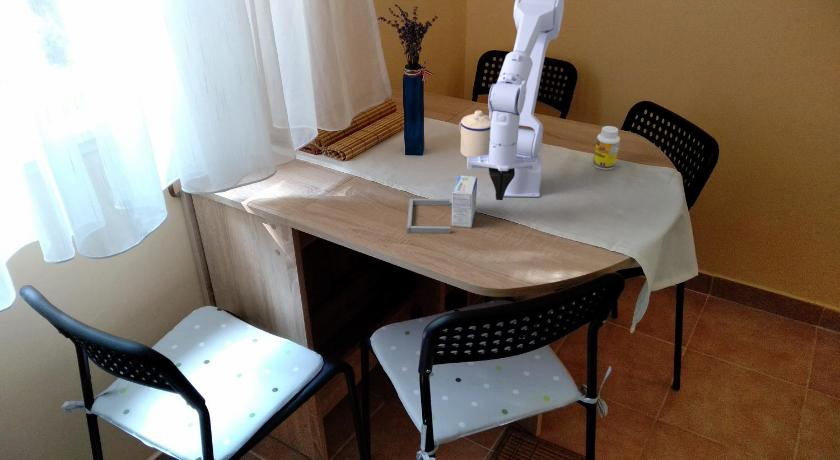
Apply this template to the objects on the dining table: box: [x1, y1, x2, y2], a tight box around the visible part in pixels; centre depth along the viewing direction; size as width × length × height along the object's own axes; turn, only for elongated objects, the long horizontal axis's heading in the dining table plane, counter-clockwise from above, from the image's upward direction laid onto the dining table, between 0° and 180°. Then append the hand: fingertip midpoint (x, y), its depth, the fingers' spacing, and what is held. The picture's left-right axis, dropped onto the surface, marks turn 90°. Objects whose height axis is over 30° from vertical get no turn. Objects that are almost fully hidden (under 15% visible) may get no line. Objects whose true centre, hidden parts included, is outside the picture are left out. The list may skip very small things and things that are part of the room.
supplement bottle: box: [592, 125, 621, 171], centre depth 159 cm, size 6×6×10 cm
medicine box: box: [451, 175, 478, 228], centre depth 138 cm, size 8×4×9 cm, turn 168°
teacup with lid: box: [458, 110, 491, 158], centre depth 167 cm, size 12×9×12 cm
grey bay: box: [406, 197, 451, 234], centre depth 141 cm, size 9×13×1 cm
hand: (499, 197), depth 138 cm, fingers closed
